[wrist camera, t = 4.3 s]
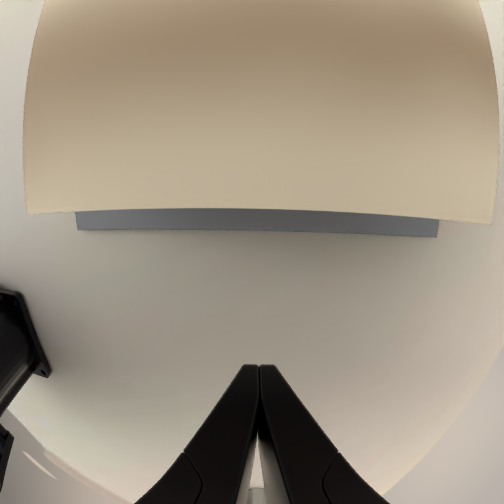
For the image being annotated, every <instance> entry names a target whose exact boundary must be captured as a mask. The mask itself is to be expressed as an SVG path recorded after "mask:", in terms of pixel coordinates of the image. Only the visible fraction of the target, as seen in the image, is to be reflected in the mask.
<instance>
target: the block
mask: <svg viewBox="0 0 504 504" xmlns="http://www.w3.org/2000/svg"><path fill="white" fill-rule="evenodd" d="M498 166H499V109H498V95H497V85H496V77H495V70H494V63H493V57H492V52H491V47H490V42H489V38H488V33H487V29H486V25H485V21H484V18H483V14H482V11H481V7H480V4H479V1H478V0H45V2H44V5H43V8H42V12H41V15H40V19H39V22H38V26H37V30H36V34H35V38H34V43H33V48H32V53H31V58H30V64H29V70H28V77H27V85H26V93H25V104H24V120H23V169H24V185H25V197H26V206H27V214H28V215H31V214H44V213H59V212H76V211H96V210H120V209H159V208H248V209H288V210H314V211H335V212H353V213H369V214H383V215H396V216H409V217H420V218H431V219H441V220H451V221H460V222H469V223H477V224H486V225H492V219H493V213H494V206H495V199H496V190H497V179H498Z"/></svg>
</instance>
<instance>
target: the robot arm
mask: <svg viewBox="0 0 504 504" xmlns="http://www.w3.org/2000/svg"><path fill="white" fill-rule="evenodd" d="M33 373H34V374H37V375H40V376H42V377H45V378H48V377H49V376H50V375H51V370H50V368H49V366H48V363H47V361H46V359H45V357H44V354H43V352H42V350H41V347H40V345H39V343H38V340H37V338H36V335H35V332H34V330H33V327H32V324H31V322H30V319H29V316H28V313H27V310H26V307H25V304H24V301H23V298H22V297H21V295H20V294H19V293H18V292H14V291H8V290H3V289H0V417H1V416H2V414H3V413H4V411H5V410H6V408H7V407H8V406H9V404H10V403H11V402H12V400H13V399H14V397H15V396H16V395H17V393H18V392H19V391H20V389H21V388H22V387H23V385H24V384H25V383H26V382H27V380H28V379H29V378H30V376H31V375H32V374H33ZM257 431H258V446H259V453H260V460H261V467H262V474H263V481H264V488H265V494H266V501H267V504H390V503H388V502H387V501H386V500H385V499H384V498H383V497H381V496H380V495H379V494H378V493H377V492H376V491H375V490H374V489H373V488H372V487H370V486H369V485H368V484H367V483H366V482H365V481H364V480H363V479H362V478H361V477H360V476H359V475H358V473H357V472H356V471H355V470H354V469H353V468H352V467H351V465H350V464H349V463H348V462H347V461H346V459H345V458H344V457H343V456H342V454H341V453H338V449H337V448H336V447H335V446H334V444H333V443H332V442H331V440H330V439H329V438H328V437H327V435H326V434H325V433H324V431H323V430H322V429H321V427H320V426H319V425H318V423H317V422H316V421H315V419H314V418H313V417H312V415H311V414H310V413H309V411H308V410H307V409H306V407H305V406H304V405H303V403H302V402H301V401H300V399H299V398H298V397H297V395H296V394H295V392H294V391H293V390H292V388H291V387H290V385H289V384H288V383H287V381H286V380H285V379H284V377H283V376H282V374H281V373H280V372H279V370H278V369H277V367H276V366H275V365H260V366H258V365H257V364H244V365H243V366H242V367H241V369H240V370H239V372H238V373H237V375H236V376H235V378H234V379H233V381H232V382H231V384H230V385H229V387H228V388H227V390H226V391H225V393H224V394H223V395H222V397H221V398H220V400H219V401H218V403H217V404H216V406H215V407H214V408H213V410H212V411H211V413H210V414H209V416H208V417H207V418H206V420H205V421H204V423H203V424H202V425H201V427H200V428H199V430H198V431H197V432H196V434H195V435H194V437H193V438H192V439H191V441H190V442H189V443H188V445H187V446H186V447H185V449H184V450H183V451H184V453H183V452H182V453H181V454H180V455H179V457H178V458H177V459H176V461H175V462H174V463H173V464H172V466H171V467H170V468H169V469H168V470H167V472H166V473H165V474H164V475H163V476H162V478H161V479H160V480H159V481H158V482H157V483H156V484H155V485H154V486H153V487H152V488H151V489H150V490H149V491H148V492H147V493H146V494H144V495H143V496H142V497H141V498H140V499H139V500H138V501H137V502H135V503H134V504H246V501H247V496H248V490H249V485H250V479H251V473H252V467H253V461H254V455H255V449H256V442H257ZM13 441H14V436H13V435H12V434H11V433H10V432H9V431H7V430H6V429H5V428H4V427H3V426H2V425H1V424H0V492H1V489H2V485H3V480H4V475H5V471H6V467H7V462H8V459H9V455H10V451H11V448H12V444H13Z"/></svg>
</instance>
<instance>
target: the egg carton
mask: <svg viewBox="0 0 504 504" xmlns="http://www.w3.org/2000/svg"><path fill="white" fill-rule="evenodd" d="M246 504H267V501H266V494H265V490H264V489H263V488H252V489H250V490H248V496H247V501H246Z"/></svg>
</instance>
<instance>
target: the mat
mask: <svg viewBox="0 0 504 504" xmlns="http://www.w3.org/2000/svg"><path fill="white" fill-rule="evenodd" d="M76 221H77V229H78V230H128V229H179V230H256V231H297V232H329V233H356V234H379V235H400V236H419V237H437V231H438V225H439V219H431V218H420V217H409V216H396V215H383V214H369V213H353V212H335V211H314V210H288V209H248V208H159V209H120V210H96V211H76Z"/></svg>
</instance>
